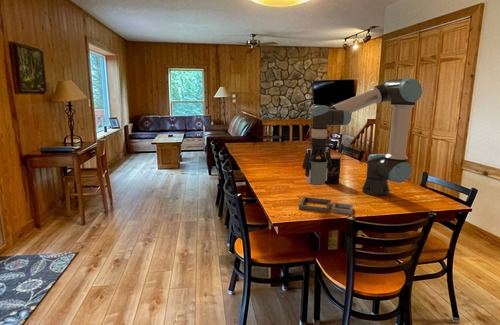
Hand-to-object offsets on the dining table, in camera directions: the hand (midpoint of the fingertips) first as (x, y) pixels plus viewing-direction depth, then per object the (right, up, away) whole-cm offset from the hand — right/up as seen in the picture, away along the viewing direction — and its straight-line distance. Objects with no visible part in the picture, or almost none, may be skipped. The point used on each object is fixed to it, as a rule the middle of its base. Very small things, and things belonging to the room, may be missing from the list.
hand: (316, 181), depth 159 cm
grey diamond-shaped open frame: (+12, -14, -3) cm, 19 cm away
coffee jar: (+19, -4, +47) cm, 51 cm away
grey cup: (0, -1, 0) cm, 1 cm away
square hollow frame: (0, -13, +3) cm, 13 cm away
